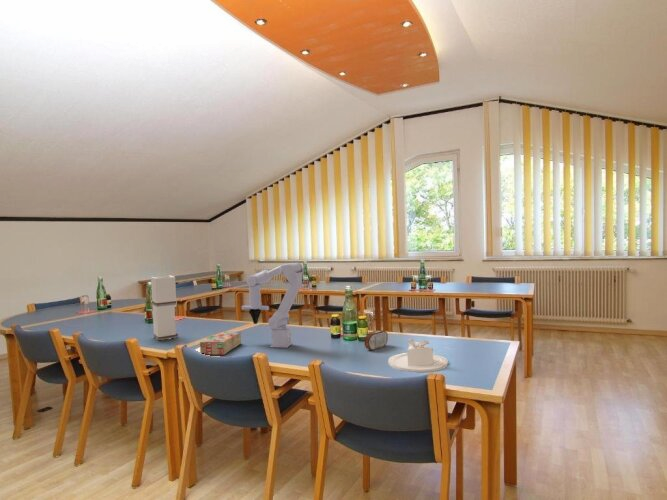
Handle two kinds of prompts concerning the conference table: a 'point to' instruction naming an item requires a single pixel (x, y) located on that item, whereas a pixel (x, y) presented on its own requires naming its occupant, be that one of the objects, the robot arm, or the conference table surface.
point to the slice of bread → (376, 339)
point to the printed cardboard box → (220, 343)
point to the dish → (418, 358)
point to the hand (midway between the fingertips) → (255, 323)
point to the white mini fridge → (164, 307)
